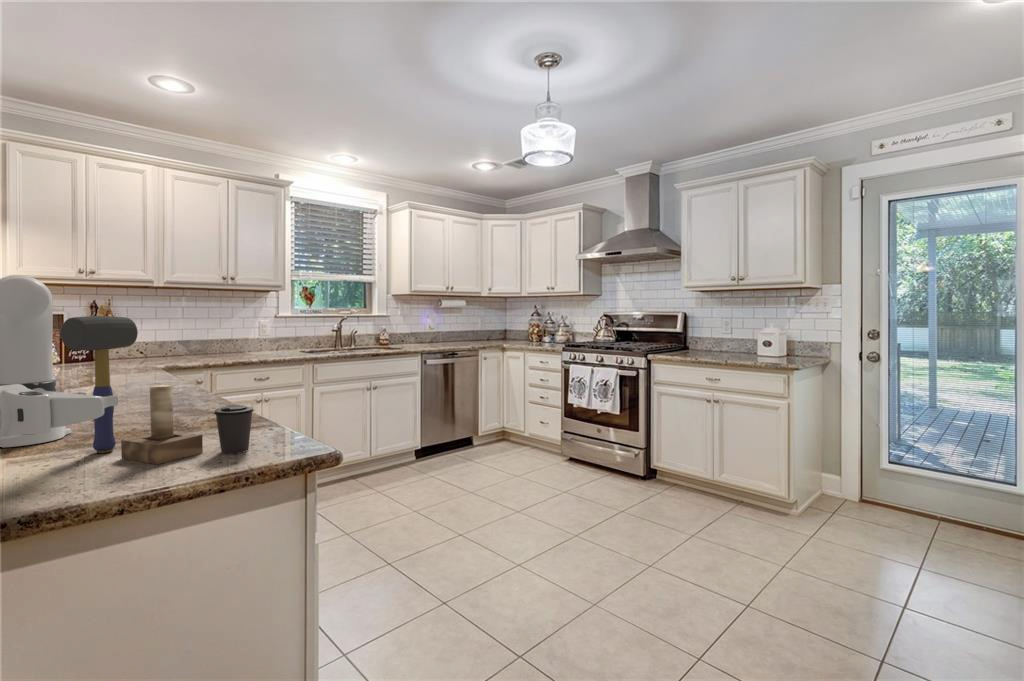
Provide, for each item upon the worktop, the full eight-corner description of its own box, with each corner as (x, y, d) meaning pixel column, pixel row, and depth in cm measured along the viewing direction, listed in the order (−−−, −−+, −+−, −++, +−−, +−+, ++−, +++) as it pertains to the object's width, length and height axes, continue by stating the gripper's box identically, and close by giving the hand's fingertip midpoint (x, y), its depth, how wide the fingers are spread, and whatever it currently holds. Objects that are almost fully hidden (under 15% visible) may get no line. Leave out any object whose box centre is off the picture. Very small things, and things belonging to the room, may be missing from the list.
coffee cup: (212, 457, 111) (211, 410, 110) (215, 448, 118) (214, 404, 118) (254, 453, 114) (254, 408, 114) (255, 444, 122) (254, 402, 121)
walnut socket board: (121, 458, 109) (121, 440, 109) (168, 447, 118) (168, 430, 118) (157, 464, 105) (156, 445, 105) (202, 452, 114) (202, 434, 114)
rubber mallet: (89, 461, 107) (84, 315, 106) (61, 458, 109) (55, 315, 108) (144, 446, 119) (140, 315, 118) (118, 444, 121) (114, 315, 120)
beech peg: (146, 457, 111) (144, 387, 110) (165, 452, 114) (164, 384, 114) (159, 459, 109) (157, 388, 108) (179, 454, 113) (177, 385, 112)
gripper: (-25, 424, 91) (67, 410, 104) (45, 435, 83) (135, 418, 96) (-27, 388, 91) (65, 379, 103) (43, 396, 83) (133, 385, 96)
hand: (99, 398), depth 100 cm, fingers open, 8 cm apart
